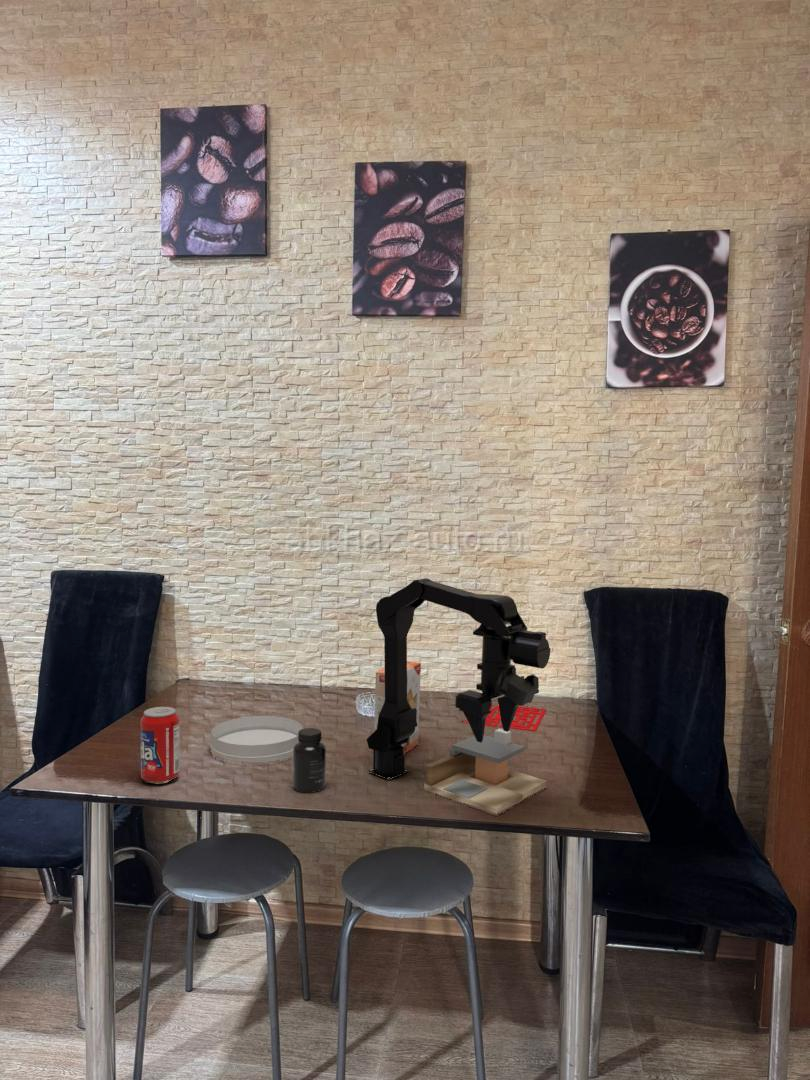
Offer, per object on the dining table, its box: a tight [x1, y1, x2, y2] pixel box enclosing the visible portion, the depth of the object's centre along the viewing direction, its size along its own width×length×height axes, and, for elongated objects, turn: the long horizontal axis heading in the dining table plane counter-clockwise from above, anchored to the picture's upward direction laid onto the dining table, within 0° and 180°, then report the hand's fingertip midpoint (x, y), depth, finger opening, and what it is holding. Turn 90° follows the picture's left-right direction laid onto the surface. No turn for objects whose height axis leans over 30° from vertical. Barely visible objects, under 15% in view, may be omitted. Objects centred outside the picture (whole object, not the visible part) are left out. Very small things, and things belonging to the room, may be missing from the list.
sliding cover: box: [449, 728, 526, 763], centre depth 163 cm, size 13×10×5 cm
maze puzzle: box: [465, 703, 547, 732], centre depth 210 cm, size 20×20×1 cm
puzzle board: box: [423, 753, 548, 814], centre depth 159 cm, size 18×19×6 cm
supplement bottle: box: [292, 727, 327, 793], centre depth 158 cm, size 7×7×12 cm
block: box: [475, 757, 509, 785], centre depth 162 cm, size 5×5×6 cm
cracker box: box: [373, 660, 422, 755], centre depth 179 cm, size 14×6×21 cm, turn 155°
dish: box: [209, 715, 304, 762], centre depth 181 cm, size 22×22×5 cm
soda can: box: [139, 706, 181, 781], centre depth 161 cm, size 8×8×15 cm
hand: (493, 736), depth 151 cm, fingers open, 9 cm apart
